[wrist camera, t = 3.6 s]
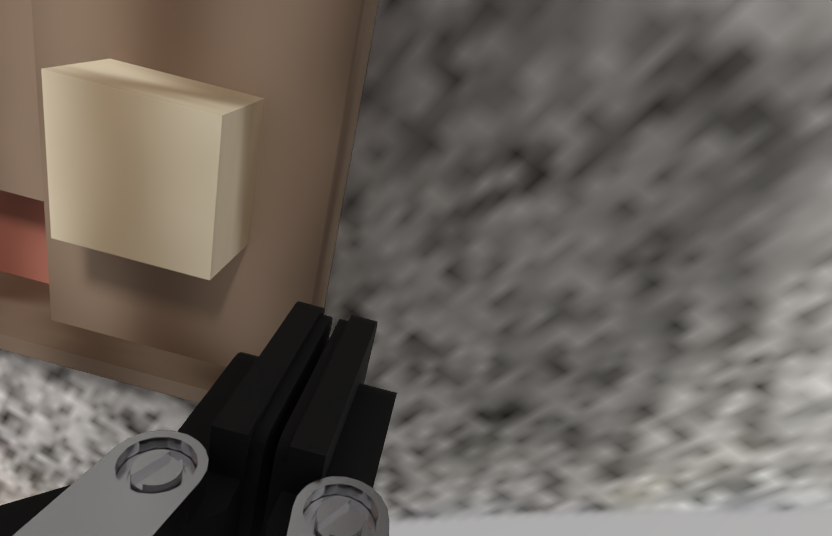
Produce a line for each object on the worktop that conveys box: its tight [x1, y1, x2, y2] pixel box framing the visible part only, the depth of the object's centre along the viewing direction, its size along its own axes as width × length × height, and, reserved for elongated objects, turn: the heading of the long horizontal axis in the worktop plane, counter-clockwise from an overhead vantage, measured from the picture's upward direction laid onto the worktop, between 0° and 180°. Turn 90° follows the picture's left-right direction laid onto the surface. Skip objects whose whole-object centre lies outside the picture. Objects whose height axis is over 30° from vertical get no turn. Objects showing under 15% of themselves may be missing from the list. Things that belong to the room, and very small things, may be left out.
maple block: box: [41, 59, 264, 280], centre depth 18 cm, size 5×5×3 cm
